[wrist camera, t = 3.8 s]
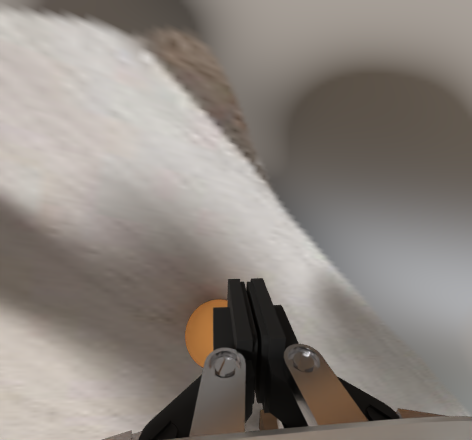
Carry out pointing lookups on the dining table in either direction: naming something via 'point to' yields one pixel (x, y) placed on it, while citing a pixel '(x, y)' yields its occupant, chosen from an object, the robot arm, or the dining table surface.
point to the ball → (201, 331)
